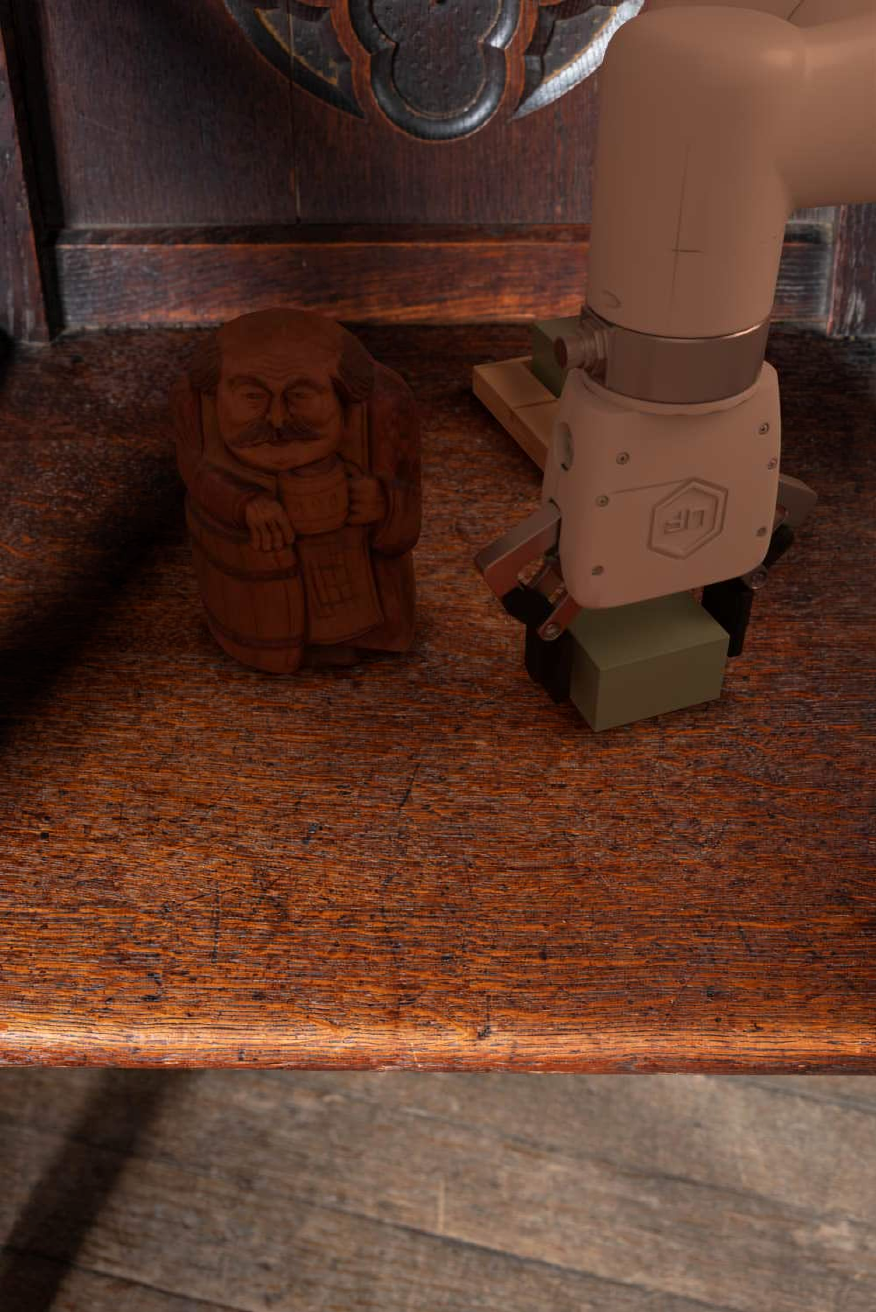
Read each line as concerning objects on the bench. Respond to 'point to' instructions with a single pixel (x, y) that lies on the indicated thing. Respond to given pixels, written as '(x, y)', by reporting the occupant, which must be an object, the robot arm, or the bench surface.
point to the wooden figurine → (299, 491)
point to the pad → (645, 659)
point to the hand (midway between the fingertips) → (635, 663)
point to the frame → (527, 388)
